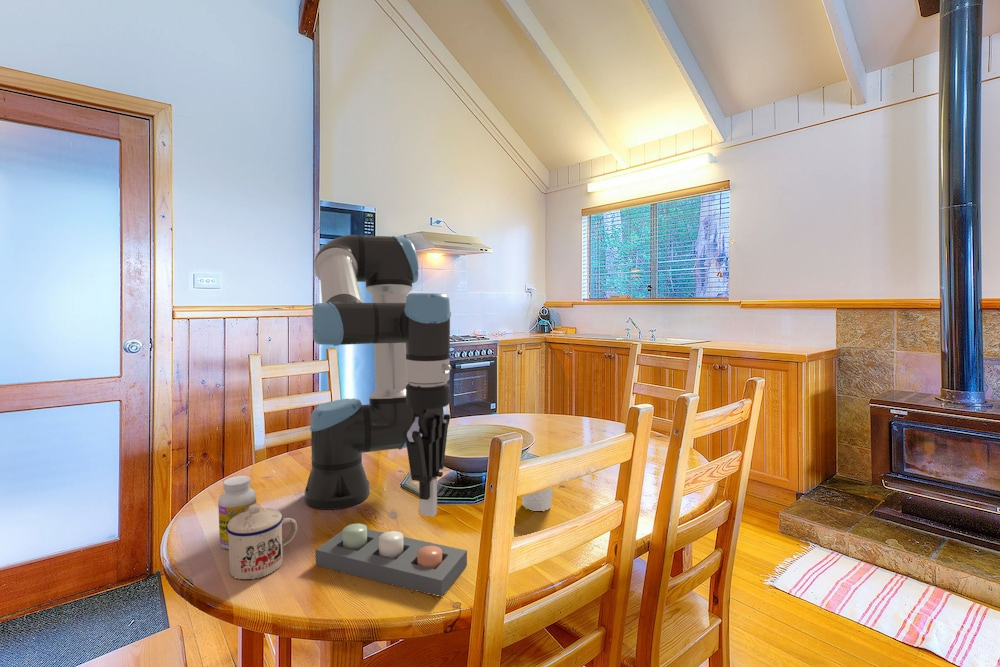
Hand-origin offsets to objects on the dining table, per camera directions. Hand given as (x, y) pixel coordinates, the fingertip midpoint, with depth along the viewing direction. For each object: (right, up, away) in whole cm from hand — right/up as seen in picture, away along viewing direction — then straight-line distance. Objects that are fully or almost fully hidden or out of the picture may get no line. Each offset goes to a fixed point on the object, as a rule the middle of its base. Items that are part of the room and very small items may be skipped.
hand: (428, 513), depth 86 cm
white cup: (+21, -9, +29) cm, 37 cm away
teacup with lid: (-31, -11, +4) cm, 33 cm away
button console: (-7, -11, +4) cm, 14 cm away
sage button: (-15, -9, +6) cm, 18 cm away
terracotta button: (0, -11, +1) cm, 11 cm away
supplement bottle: (-40, -10, +11) cm, 43 cm away
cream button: (-7, -9, +3) cm, 12 cm away
